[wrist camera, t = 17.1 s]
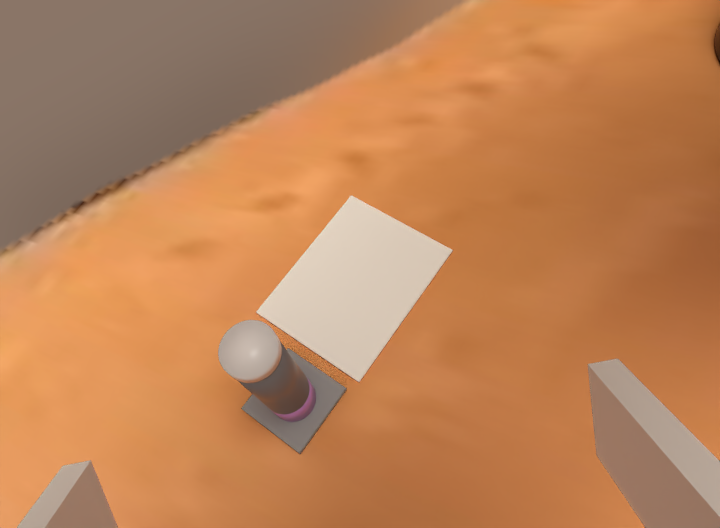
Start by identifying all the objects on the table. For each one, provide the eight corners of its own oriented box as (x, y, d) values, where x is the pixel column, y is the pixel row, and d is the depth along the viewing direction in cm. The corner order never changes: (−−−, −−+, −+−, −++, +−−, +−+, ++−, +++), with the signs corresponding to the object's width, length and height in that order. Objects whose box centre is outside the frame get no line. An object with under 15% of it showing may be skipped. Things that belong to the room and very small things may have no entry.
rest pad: (289, 349, 48) (287, 348, 48) (346, 389, 46) (346, 388, 46) (242, 409, 46) (241, 408, 46) (300, 454, 44) (299, 453, 44)
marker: (290, 367, 47) (244, 309, 36) (326, 392, 46) (289, 339, 35) (261, 405, 46) (206, 357, 35) (297, 432, 44) (251, 390, 34)
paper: (351, 196, 54) (351, 195, 54) (452, 251, 50) (452, 250, 50) (256, 313, 50) (256, 312, 50) (359, 382, 46) (358, 381, 46)
